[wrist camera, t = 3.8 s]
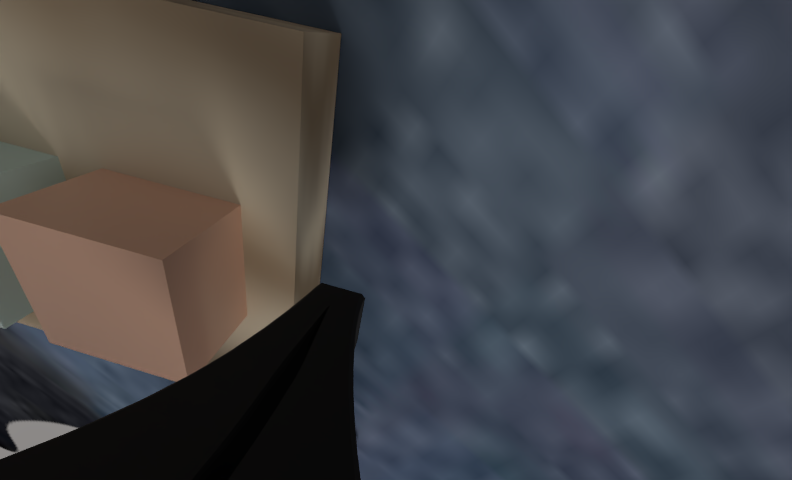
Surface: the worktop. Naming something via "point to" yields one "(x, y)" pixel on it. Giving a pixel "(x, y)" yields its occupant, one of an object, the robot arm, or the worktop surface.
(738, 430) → the worktop surface
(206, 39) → the beech board
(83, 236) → the salmon pink cube
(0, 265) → the sage green cube
